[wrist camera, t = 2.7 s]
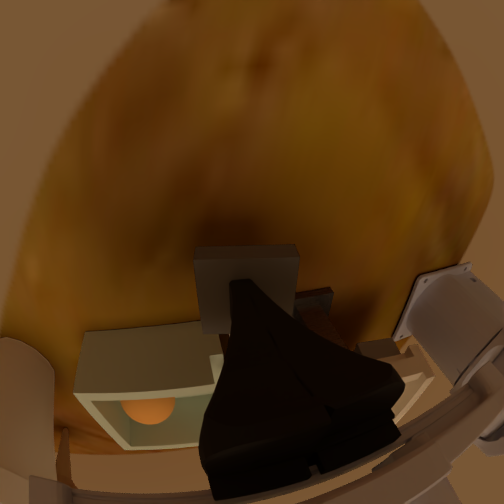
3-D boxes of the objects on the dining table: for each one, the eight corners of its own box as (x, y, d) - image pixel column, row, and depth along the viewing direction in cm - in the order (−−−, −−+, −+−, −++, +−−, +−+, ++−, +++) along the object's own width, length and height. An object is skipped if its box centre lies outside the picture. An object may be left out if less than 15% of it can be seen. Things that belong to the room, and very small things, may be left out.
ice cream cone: (76, 440, 23) (80, 545, 11) (37, 422, 20) (33, 533, 8) (96, 431, 23) (103, 551, 10) (53, 411, 20) (49, 540, 7)
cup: (214, 318, 18) (229, 381, 14) (223, 391, 22) (235, 440, 18) (85, 331, 16) (72, 393, 12) (124, 400, 20) (124, 449, 16)
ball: (165, 410, 14) (105, 404, 14) (178, 434, 16) (126, 430, 16) (171, 360, 18) (117, 357, 17) (181, 390, 20) (133, 388, 19)
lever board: (442, 225, 14) (495, 271, 10) (375, 381, 22) (393, 426, 17) (200, 225, 13) (187, 293, 9) (220, 399, 21) (221, 453, 16)
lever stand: (330, 287, 19) (371, 342, 14) (307, 379, 25) (329, 425, 20) (275, 296, 18) (308, 361, 14) (266, 388, 24) (285, 438, 19)
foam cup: (86, 398, 19) (86, 531, 9) (12, 390, 17) (-4, 502, 6) (42, 322, 15) (5, 504, 4) (-36, 319, 12) (-84, 451, 2)
